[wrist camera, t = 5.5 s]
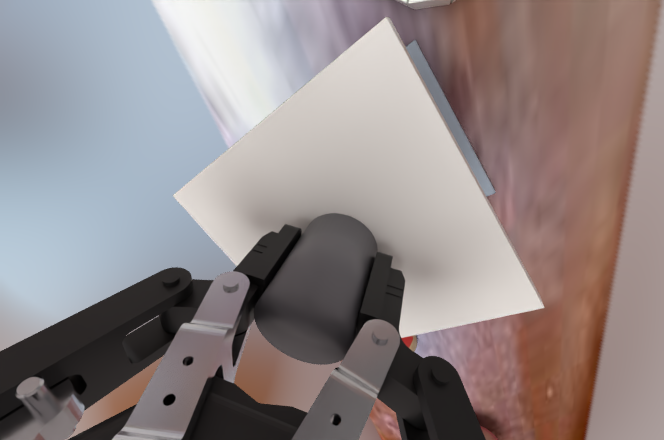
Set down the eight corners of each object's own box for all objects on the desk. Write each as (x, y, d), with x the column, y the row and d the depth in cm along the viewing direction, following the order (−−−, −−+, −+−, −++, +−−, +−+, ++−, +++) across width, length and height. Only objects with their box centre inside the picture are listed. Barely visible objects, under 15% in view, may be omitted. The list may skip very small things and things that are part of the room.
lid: (183, 189, 17) (82, 252, 12) (389, 17, 10) (346, 9, 5) (321, 345, 20) (286, 440, 16) (539, 294, 14) (590, 433, 9)
